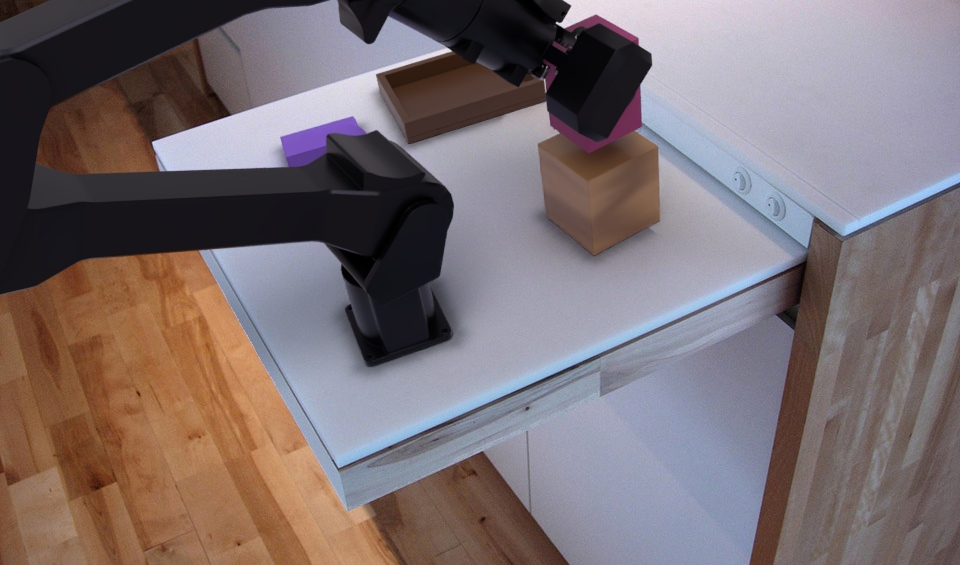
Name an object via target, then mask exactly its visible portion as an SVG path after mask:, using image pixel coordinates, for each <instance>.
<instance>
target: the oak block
mask: <svg viewBox="0 0 960 565" xmlns="http://www.w3.org/2000/svg"><path fill="white" fill-rule="evenodd" d="M537 151H538V160H539V169H540V177H541V185H542V193H543V202H544V203H543V204H544V211H545V217H546V218H547V219H548V220H550V221H551V222H552V223H553V224H555V225H556V226H557V227H558V228H560V229H561V230H562V231H563V232H565V233H566V234H567V235H568V236H569V237H570V238H572V240H574V241H575V242H576V243H578V244H579V245H580V246H581V247H582V248H583V249H585V250H586V251H587V252H589V253H590V254H591V255H592V256H597V255H599V254H600V253H602V252H604V251H606V250H608V249H609V248H611V247H613V246H615V245H617V244H620V243H621V242H623V241H625V240H627V239H628V238H630V237H632V236H634V235H636V234H638V233H640V232H642V231H643V230H646V229H647V228H649V227H651V226H653V225H654V224H657V223H658V222H660V221H661V209H660V208H661V202H660V201H661V200H660V197H661V196H660V168H659V167H660V164H659V162H660V160H659V159H660V157H659V146H658V144H656V143H654V142H653V141H651V140H650V139H648V138H647V137H646V136H644V135H643V134H640V133H639V132H638V131H637V130H635V131H633V132H631V133H629V134H627V135H625V136H623V137H621V138H619V139H617V140H615V141H613V142H611V143H609V144H607V145H605V146H603V147H601V148H599V149H597V150H595V151H593V152H591V153H587V152H586V151H585V150H583V149H582V148H580V147H579V146H578V145H576V144H575V143H573V142H572V141H571V140H569V139H568V138H566V137H565V136H564V135H562V134H561V133H560V132H558V133H557V134H555V135H553V136H551V137H549V138H546V139H545V140H543V141H540V142H539V143H537Z"/></svg>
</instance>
